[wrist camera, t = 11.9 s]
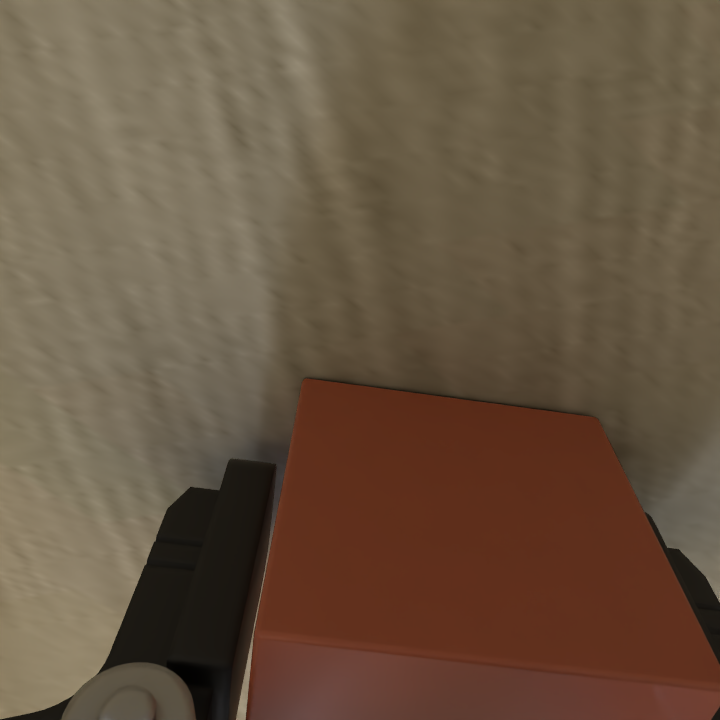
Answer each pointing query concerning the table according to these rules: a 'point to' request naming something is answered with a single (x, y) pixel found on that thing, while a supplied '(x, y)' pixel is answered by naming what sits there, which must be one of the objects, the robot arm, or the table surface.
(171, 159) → the table surface
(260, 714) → the block
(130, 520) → the table surface
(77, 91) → the table surface
